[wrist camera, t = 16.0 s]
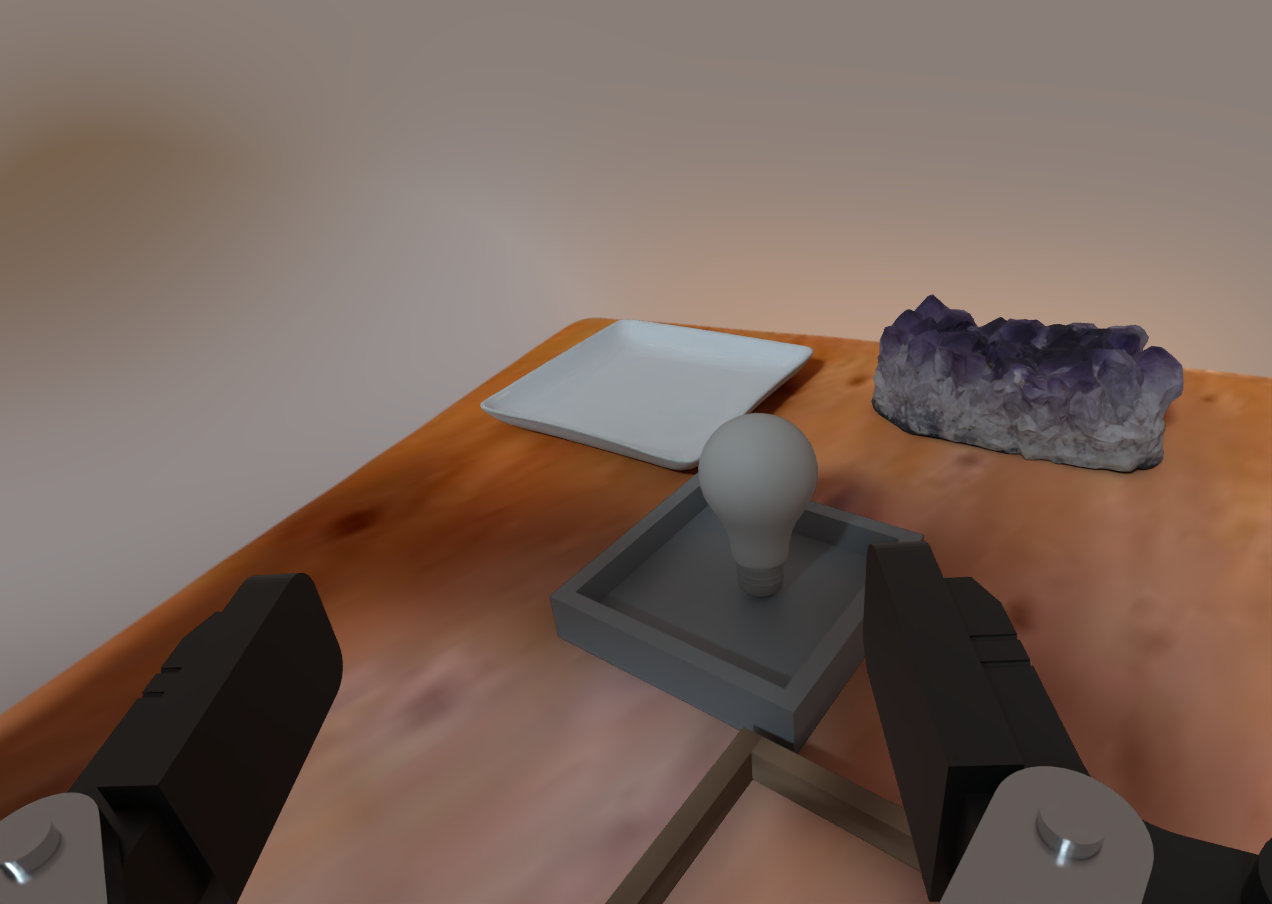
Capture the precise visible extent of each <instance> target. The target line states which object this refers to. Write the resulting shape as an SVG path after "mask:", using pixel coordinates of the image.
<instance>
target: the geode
mask: <svg viewBox="0 0 1272 904" xmlns="http://www.w3.org/2000/svg"><path fill="white" fill-rule="evenodd" d="M1148 338H1149V337H1148V335H1147V334H1146V332H1145V330H1143V329H1142V328H1141V327H1140V326H1137V325H1129V326H1112V327H1108V328H1107V329H1098V328H1097V327H1096V326H1095V325H1094V324H1090V323H1072V324H1069V325H1066V326H1065V325H1061V324H1053V325H1050V326H1045V325H1043V324H1042V323H1041V322H1039V321H1038V320H1027V319H1024V320H1014V319H1009V320H1008V321H1006V320H1005V319H1003V318H1002V317H1000V318H997V319H995V320H993V321H992V322H990V323H988V324H986V325H984V326H982V327H978V326H977V325H976V324H975V322H974V319H973V318H972V316H971V314H969V313H967V312H966V311H964V310H955V309H949V308H948V307H946V306H945V305H944V304H943V303H942V302H941V301H940V300H938V299H937V298H936V297H935V296H934V295H930V296H928V297H927V298H926V299H925V300H924V301H923V302H922V303H921V304H920V305H919V306H918V308H917V309H916V310H915V311H912V310H910V309H909V310H906V311H904V312H903V313H902V314H901V315H900V316H899V317H898V318H897V319H896V320H895V322H894V323H893V325H892V326H888V327H885V329H884V332H883V334H882V337H881V339H880V355H879V356H878V366H877V368H876V374H875V376H874V382H875V389H874V394H873V398H872V401H871V402H872V405H873V408H874V409H875V411H876V412H877V413H878V414H879V415H881V416H882V417H884V418H885V419H887V420H888V421H890V422H891V423H893V424H894V425H896V426H897V427H899V428H900V429H901V430H903V431H905V432H908V433H910V434H918V435H924V436H930V437H936V438H942V439H947V440H950V441H954V442H962V443H967V444H971V445H975V446H979V447H984V448H987V449H991V450H996V451H1000V452H1003V453H1007V454H1017V453H1020V454H1021V455H1022V456H1023V457H1024V458H1025V459H1028V460H1039V459H1045V460H1049V461H1052V462H1054V463H1056V464H1059V463H1066V464H1070V465H1074V466H1080V467H1087V468H1094V469H1096V468H1103V469H1111V470H1116V471H1126V472H1131V471H1133V470H1135V469H1136V468H1140V469H1149V468H1153V467H1154V466H1156V465H1157V464H1159V463H1160V461H1161V460H1162V459H1163V454H1164V451H1163V448H1162V445H1163V434H1164V431H1165V423H1164V420H1163V418H1164V414H1165V412H1166V410H1167V408H1168V406H1169V405H1170V404H1171V402H1172V401H1174V400H1175V399H1177V398H1178V397H1179V396H1181V394H1182V391H1183V369H1182V365H1181V364H1180V363H1179V362H1178V361H1177V360H1176V359H1175V358H1174V357H1173V356H1172V355H1170V354H1169V353H1168V352H1167V351H1166V350H1165V349H1163V348H1162V347H1156V346H1151V347H1149V348H1148V349H1146V350H1144V351H1143V347H1144V346H1145V345H1146V343H1147V341H1148Z"/></svg>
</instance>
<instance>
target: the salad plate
mask: <svg viewBox="0 0 1272 904" xmlns="http://www.w3.org/2000/svg"><path fill="white" fill-rule="evenodd" d="M812 354H813V350H812V349H811V348H810V347H806V346H801V345H795V344H789V343H782V342H776V341H770V340H764V339H758V338H752V337H746V336H739V335H733V334H727V333H721V332H714V331H708V330H701V329H695V328H688V327H681V326H675V325H667V324H660V323H654V322H647V321H640V320H628V319H626V320H619V321H617V322H615V323H613V324H611V325H609V326H608V327H606V328H604V329H602V330H601V331H599V332H597V333H596V334H594V335H592V336H590V337H589V338H587V339H585V340H584V341H582V342H580V343H579V344H577V345H575V346H574V347H572V348H570V349H568V350H567V351H565V352H564V353H562V354H560V355H558V356H557V357H555V358H553V359H552V360H550V361H548V362H547V363H545V364H543V365H542V366H540V367H538V368H537V369H535V370H534V371H532V372H530V373H529V374H527V375H525V376H524V377H522V378H520V379H519V380H517V381H516V382H514V383H512V384H511V385H509V386H508V387H506V388H504V389H503V390H501V391H499V392H498V393H496V394H494V395H493V396H491V397H489V398H488V399H486V400H485V401H483V402H482V403H481V405H480V406H481V408H482V410H483V411H485V412H486V413H487V414H489V415H490V416H492V417H494V418H496V419H498V420H500V421H502V422H505V423H508V424H511V425H514V426H517V427H520V428H524V429H528V430H532V431H536V432H541V433H544V434H548V435H552V436H556V437H560V438H563V439H567V440H570V441H574V442H578V443H581V444H585V445H588V446H592V447H596V448H599V449H603V450H606V451H610V452H614V453H617V454H621V455H624V456H628V457H631V458H635V459H638V460H642V461H645V462H648V463H652V464H655V465H658V466H661V467H665V468H669V469H674V470H687V469H692V468H695V467H697V466H699V460H700V457H701V453H702V451H703V448H704V445H705V444H706V442H707V441H708V439H709V438H710V436H711V435H712V434H713V433H714V432H715V431H716V430H717V429H718V428H719V427H720V426H721V425H722V424H724V423H726V422H727V421H729V420H731V419H733V418H735V417H738V416H741V415H745V414H750V413H751V412H752V411H753V410H754V409H755V408H756V407H757V406H758V405H759V404H761V403H762V402H763V401H764V400H765V399H766V398H767V397H769V396H770V395H771V394H772V393H773V392H774V391H776V390H777V389H778V388H779V387H780V386H782V385H783V384H784V383H785V382H786V381H788V380H789V379H790V378H791V377H793V376H794V375H795V374H796V373H797V372H798V371H799V370H801V368H802V367H803V366H804V365H805V364H806V363H807V362H808V360H809V359H810V357H811V356H812Z"/></svg>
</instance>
